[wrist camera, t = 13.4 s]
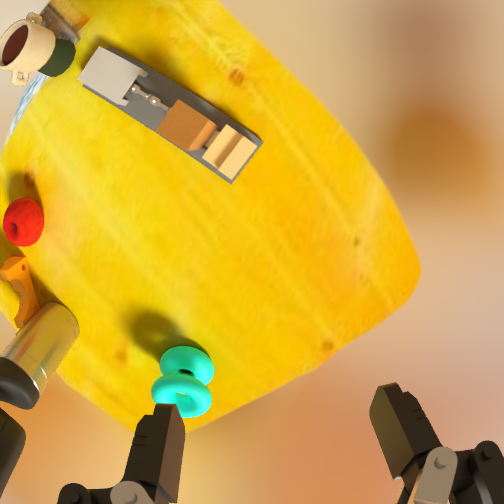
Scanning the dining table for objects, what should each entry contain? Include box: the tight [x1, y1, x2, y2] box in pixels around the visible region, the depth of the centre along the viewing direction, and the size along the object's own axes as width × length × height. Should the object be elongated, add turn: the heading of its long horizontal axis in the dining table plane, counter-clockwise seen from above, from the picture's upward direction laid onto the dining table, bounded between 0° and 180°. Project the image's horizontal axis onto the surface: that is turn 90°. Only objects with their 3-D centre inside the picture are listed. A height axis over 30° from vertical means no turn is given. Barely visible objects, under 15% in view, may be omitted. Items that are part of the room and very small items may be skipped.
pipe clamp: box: [0, 256, 40, 328], centre depth 40 cm, size 12×4×6 cm, turn 177°
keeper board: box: [77, 46, 263, 184], centre depth 32 cm, size 27×7×5 cm, turn 53°
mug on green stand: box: [0, 13, 75, 86], centre depth 23 cm, size 11×7×13 cm, turn 173°
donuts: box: [151, 346, 214, 418], centre depth 45 cm, size 10×10×10 cm
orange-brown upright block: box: [128, 83, 220, 152], centre depth 28 cm, size 17×4×12 cm, turn 53°
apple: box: [3, 198, 44, 247], centre depth 35 cm, size 8×8×7 cm
